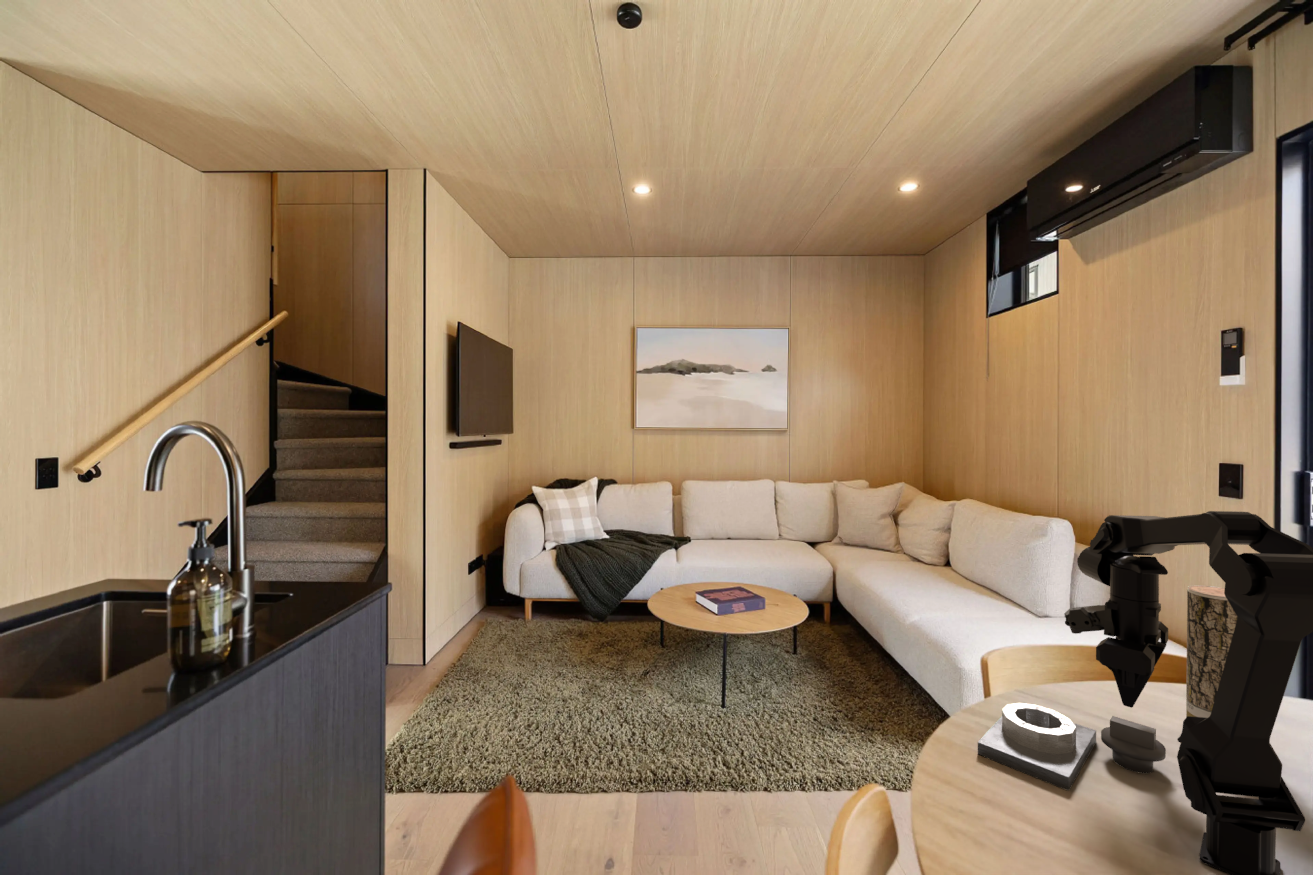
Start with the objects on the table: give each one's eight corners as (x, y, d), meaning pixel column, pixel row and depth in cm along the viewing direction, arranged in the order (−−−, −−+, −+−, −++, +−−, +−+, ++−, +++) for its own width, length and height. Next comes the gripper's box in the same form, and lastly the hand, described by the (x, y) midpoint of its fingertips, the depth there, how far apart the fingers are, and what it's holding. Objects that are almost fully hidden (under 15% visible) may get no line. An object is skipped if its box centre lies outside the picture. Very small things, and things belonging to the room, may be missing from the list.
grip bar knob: (1161, 786, 80) (1162, 744, 80) (1096, 762, 86) (1096, 723, 86) (1168, 764, 85) (1169, 725, 85) (1106, 743, 91) (1106, 706, 91)
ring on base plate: (1068, 790, 79) (1068, 756, 79) (977, 754, 88) (977, 723, 88) (1096, 741, 91) (1096, 712, 91) (1013, 714, 100) (1013, 687, 100)
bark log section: (1195, 745, 90) (1196, 594, 90) (1179, 724, 96) (1180, 583, 96) (1252, 756, 87) (1254, 599, 86) (1232, 734, 93) (1234, 588, 92)
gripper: (1083, 574, 97) (1083, 662, 97) (1054, 597, 85) (1054, 697, 85) (1169, 588, 89) (1168, 683, 89) (1151, 615, 76) (1150, 726, 77)
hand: (1133, 695), depth 85 cm, fingers open, 9 cm apart
